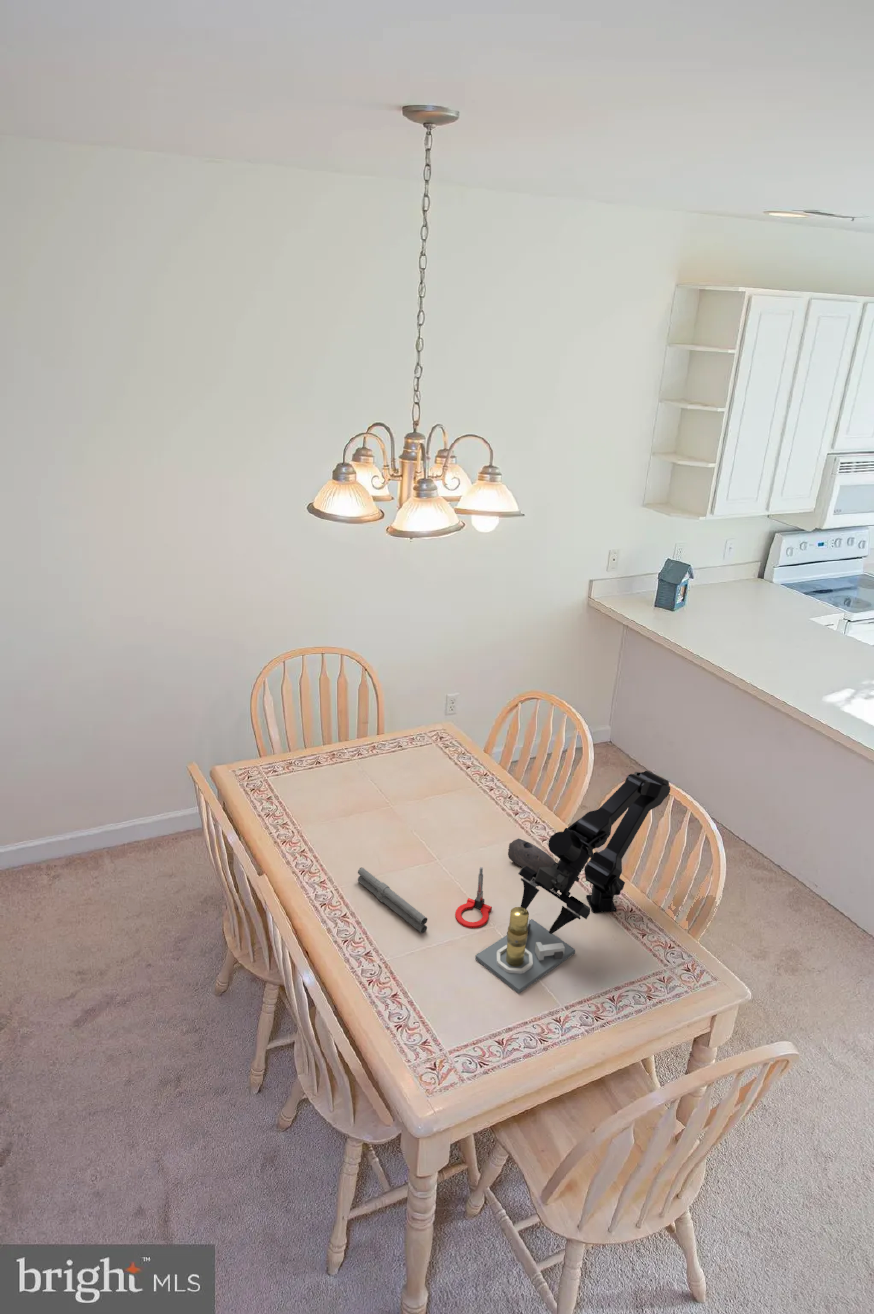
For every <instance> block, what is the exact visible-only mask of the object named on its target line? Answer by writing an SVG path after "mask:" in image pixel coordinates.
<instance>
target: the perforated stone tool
mask: <svg viewBox="0 0 874 1314" xmlns="http://www.w3.org/2000/svg"><path fill="white" fill-rule="evenodd" d="M507 856H508V859H509V860H511V862H513V863H514V864H516V865H518V866H520V867H521V868H523V867H525V866H528V867H529V868H531V869H532V870H534V871H535V872H537V873H538V870H539V868H540V867H551V866H552V865H553V864H554V863H555V862H556V860H555V859H554V858H553V856H551V855H549V854H548V853H547V852H545V851H544V850H543V849H541V848H539V847H538V846H537V845H534V844H533V843H532V842H528V841H526V840H524V839H521V838H516V839H514V840H513V841H511V842H510V843H509V845H508V852H507Z"/></svg>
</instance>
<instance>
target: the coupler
mask: <svg viewBox="0 0 874 1314" xmlns="http://www.w3.org/2000/svg"><path fill="white" fill-rule="evenodd" d="M509 913H510V916H509V924H508V927H507V932H506V935H507V942H508V943H507V953H506V962H507V963H508V964H509V965H511V966H520V965H522V964H523V962H524V954H525V945H526V943H527V938H528V935H527V934H528V928H527V926H528V919H529V917H530V913H529V911H528V909H525V908H522V907H521V906H515V907H513V908H511V910H510V912H509Z"/></svg>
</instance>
